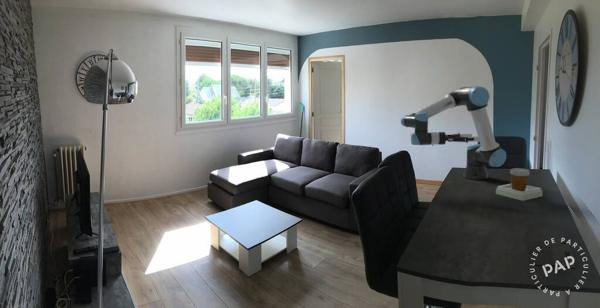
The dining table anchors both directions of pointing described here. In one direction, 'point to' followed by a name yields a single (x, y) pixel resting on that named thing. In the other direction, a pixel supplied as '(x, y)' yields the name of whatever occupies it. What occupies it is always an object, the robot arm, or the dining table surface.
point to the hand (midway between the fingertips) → (475, 137)
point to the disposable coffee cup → (519, 178)
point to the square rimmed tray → (519, 192)
